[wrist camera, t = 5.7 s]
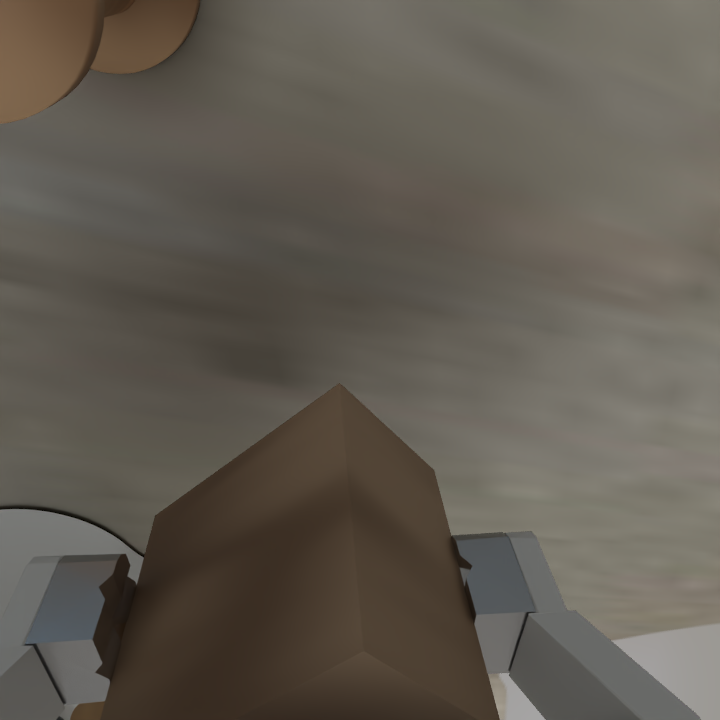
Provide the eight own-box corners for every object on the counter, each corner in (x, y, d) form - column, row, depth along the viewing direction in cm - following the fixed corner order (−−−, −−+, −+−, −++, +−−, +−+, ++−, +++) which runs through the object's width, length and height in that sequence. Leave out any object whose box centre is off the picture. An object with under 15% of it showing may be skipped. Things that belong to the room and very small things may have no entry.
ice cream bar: (171, 633, 14) (117, 902, 10) (65, 580, 13) (-47, 868, 9) (433, 469, 12) (503, 734, 8) (339, 382, 10) (363, 650, 6)
